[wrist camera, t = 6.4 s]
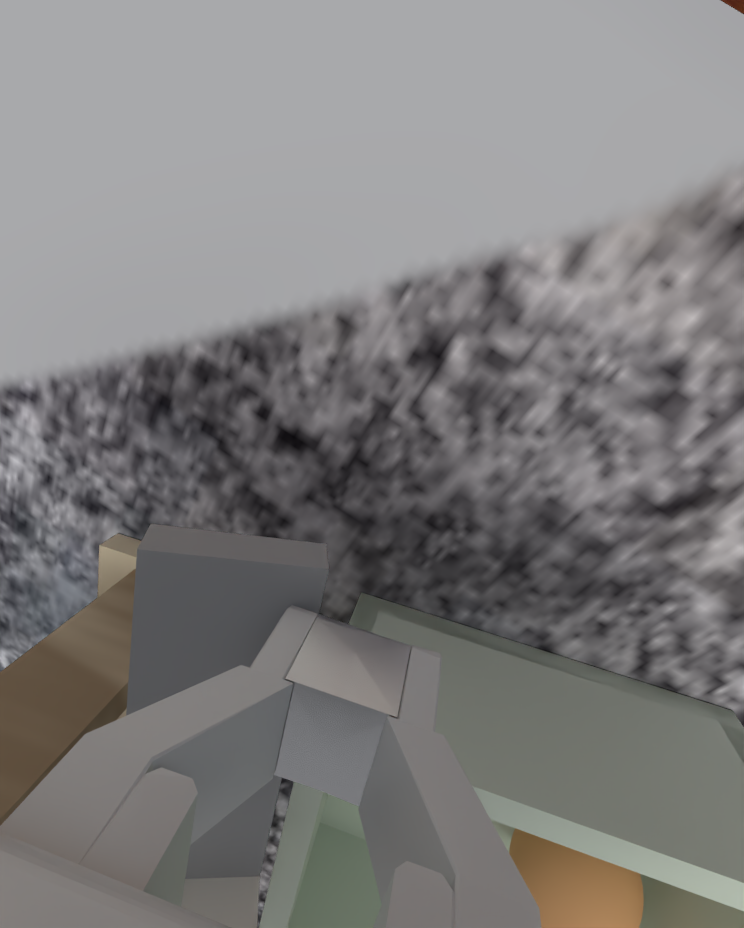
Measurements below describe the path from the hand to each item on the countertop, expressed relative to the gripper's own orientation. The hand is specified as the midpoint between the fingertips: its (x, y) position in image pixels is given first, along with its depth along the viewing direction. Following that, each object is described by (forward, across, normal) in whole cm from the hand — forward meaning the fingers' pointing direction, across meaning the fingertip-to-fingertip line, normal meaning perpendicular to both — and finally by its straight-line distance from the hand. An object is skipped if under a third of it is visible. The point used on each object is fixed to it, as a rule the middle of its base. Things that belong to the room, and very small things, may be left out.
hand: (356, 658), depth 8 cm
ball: (+5, -8, +10) cm, 14 cm away
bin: (+8, -6, +10) cm, 14 cm away
